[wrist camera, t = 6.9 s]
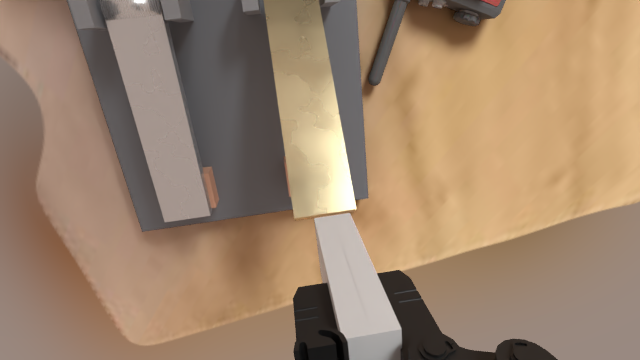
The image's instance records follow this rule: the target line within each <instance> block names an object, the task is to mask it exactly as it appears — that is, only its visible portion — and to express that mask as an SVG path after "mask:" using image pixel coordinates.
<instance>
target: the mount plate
mask: <svg viewBox="0 0 640 360" xmlns="http://www.w3.org/2000/svg"><path fill="white" fill-rule="evenodd" d="M160 1H161V5H162V9H163V13H164V18H165V20H168V25H169V29H170V33H171V37H172V42H173V46H174V50H175V54H176V58H177V63H178V67H179V71H180V75H181V80H182V84H183V88H184V92H185V96H186V101H187V105H188V109H189V113H190V118H191V122H192V126H193V130H194V134H195V139H196V143H197V147H198V151H199V156H200V160H201V164H202V168H203V172H204V177H205V181H206V185H207V189H208V194H209V198H210V202H211V206H212V213H211V216H205V217H198V218H191V219H185V220H178V221H171V222H165V221H164V218H163V215H162V211H161V208H160V204H159V201H158V198H157V194H156V191H155V187H154V184H153V181H152V177H151V174H150V170H149V167H148V164H147V160H146V157H145V153H144V150H143V147H142V143H141V140H140V136H139V133H138V130H137V126H136V123H135V119H134V116H133V113H132V109H131V106H130V102H129V99H128V96H127V92H126V89H125V85H124V82H123V79H122V75H121V72H120V68H119V65H118V61H117V58H116V55H115V51H114V48H113V44H112V41H111V38H110V34H109V31H108V27H107V24H106V21H105V18H104V16H103V14H102V11H101V7H100V0H67V2H68V6H69V9H70V12H71V15H72V18H73V21H74V24H75V27H76V30H77V33H78V36H79V39H80V42H81V45H82V48H83V51H84V55H85V58H86V61H87V64H88V67H89V70H90V73H91V76H92V79H93V82H94V85H95V88H96V91H97V94H98V97H99V100H100V104H101V107H102V110H103V113H104V116H105V119H106V122H107V125H108V128H109V131H110V134H111V137H112V140H113V143H114V146H115V149H116V153H117V156H118V159H119V162H120V165H121V168H122V171H123V174H124V177H125V180H126V183H127V186H128V189H129V192H130V195H131V198H132V202H133V205H134V208H135V211H136V214H137V217H138V220H139V223H140V226H141V229H142V232H144V231H150V230H157V229H164V228H171V227H177V226H184V225H191V224H198V223H204V222H211V221H218V220H224V219H231V218H238V217H245V216H251V215H258V214H265V213H272V212H278V211H285V210H292V209H293V207H292V200H291V192H290V185H289V178H288V171H287V164H286V157H285V150H284V143H283V136H282V128H281V121H280V114H279V107H278V100H277V93H276V86H275V79H274V72H273V64H272V57H271V50H270V43H269V36H268V29H267V22H266V15H265V8H264V0H160ZM319 5H320V10H321V16H322V21H323V27H324V32H325V38H326V43H327V49H328V54H329V60H330V65H331V71H332V76H333V82H334V88H335V93H336V99H337V104H338V110H339V115H340V121H341V126H342V132H343V137H344V143H345V148H346V154H347V159H348V165H349V170H350V176H351V181H352V187H353V193H354V198H355V200H359V199H366V198H368V185H367V168H366V152H365V136H364V120H363V103H362V87H361V71H360V54H359V38H358V22H357V5H356V0H319Z"/></svg>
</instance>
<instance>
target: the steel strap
mask: <svg viewBox="0 0 640 360" xmlns="http://www.w3.org/2000/svg"><path fill="white" fill-rule="evenodd" d="M100 7H101V11H102V14H103V16H104V18H105V21H106V24H107V27H108V31H109V34H110V38H111V41H112V44H113V48H114V51H115V55H116V58H117V61H118V65H119V68H120V72H121V75H122V79H123V82H124V85H125V89H126V92H127V96H128V99H129V102H130V106H131V109H132V113H133V116H134V119H135V123H136V126H137V130H138V133H139V136H140V140H141V143H142V147H143V150H144V153H145V157H146V160H147V164H148V167H149V170H150V174H151V177H152V181H153V184H154V187H155V191H156V194H157V198H158V201H159V204H160V208H161V211H162V215H163V218H164V221H165V222H171V221H178V220H185V219H191V218H198V217H205V216H211V213H212V206H211V202H210V198H209V194H208V189H207V185H206V181H205V177H204V172H203V168H202V164H201V160H200V156H199V151H198V147H197V143H196V139H195V134H194V130H193V126H192V122H191V118H190V113H189V109H188V105H187V101H186V96H185V92H184V88H183V84H182V80H181V75H180V71H179V67H178V63H177V58H176V54H175V50H174V46H173V42H172V37H171V33H170V29H169V25H168V20H165V18H164V13H163V9H162V5H161V1H160V0H100Z"/></svg>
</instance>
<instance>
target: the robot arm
mask: <svg viewBox="0 0 640 360" xmlns="http://www.w3.org/2000/svg"><path fill="white" fill-rule="evenodd" d="M314 221H315V229H316V237H317V246H318V254H319V262H320V270H321V276H322V281H323V283H322V284H316V285H310V286H304V287H298V289H297V291H296V293H295V295H294V298H293V303H294V316H295V328H296V342H295V346H294V357H295V360H557V359H556V358H555V357H554V356H553V355H551V354H550V353H549V352H548V351H546V350H545V349H543V348H542V347H540V346H538V345H537V344H535V343H532V342H529V341H526V340H521V339H510V340H505V341H503V342H502V343H501V344H499V345H498V346H497V350H496V352H495V353H492V352H482V351H474V350H468V349H465V348H462V347H459V346H458V345H457V344H456V342H455V341H454V340H453V339H451V338H449V337H448V336H446V335H444V334H442V332H441V331H440V329H439V327H438V326H437V324H436V322H435V320H434V319H433V317H432V315H431V314H430V312H429V310H428V308H427V307H426V305H425V303H424V301H423V300H422V299H421V296H420V294H419V293H418V291H417V290H416V287H415V286H414V284H413V282H412V280H411V279H410V278H409V277H408V276H407V275H405V274H404V273H403V272H401V271H400V270H396V271H390V272H384V273H378V274H377V273H376V270H375V268H374V266H373V264H372V261H371V259H370V257H369V255H368V252H367V250H366V248H365V246H364V244H363V241H362V239H361V237H360V235H359V232H358V230H357V228H356V226H355V223H354V221H353V219H352V217H351V214H350V213H345V214H339V215H332V216H325V217H318V218H314Z"/></svg>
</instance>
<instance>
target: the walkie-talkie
mask: <svg viewBox="0 0 640 360" xmlns="http://www.w3.org/2000/svg"><path fill="white" fill-rule="evenodd" d="M505 1H506V0H419V2H418V4H419V5H421V6H425V7H427V6H428V4H429V2H433V3H432V6H433V7H435V8H439V9H441V8H442V7H443V6H445V7H447V8H450V9H452V10H455V11H458V12H456V13H455V14H454V16H453V18H454V20H455V21H457V22H459V23H462V24H466V25H470V26H477V25H479V23H480V20H481V19H491V18H495V17H497V16H498V15H499V14H500V13H501V10H502V8H503V6H504V3H505ZM408 3H410V0H395V1H394V4H393V7H392V10H391V13H390V16H389V19H388V22H387V25H386V28H385V31H384V34H383V37H382V40H381V43H380V46H379V49H378V52H377V55H376V58H375V61H374V64H373V67H372V70H371V73H370V76H369V79H368V80H369V83H370V84H371V85H373V86H376V85H378V84H379V83H380V81H381V78H382V75H383V72H384V69H385V67H386V64H387V61H388V58H389V55H390V52H391V49H392V46H393V44H394V41H395V38H396V35H397V32H398V29H399V26H400V24H401V21H402V18H403V15H404V12H405V9H406V6H407V4H408Z"/></svg>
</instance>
